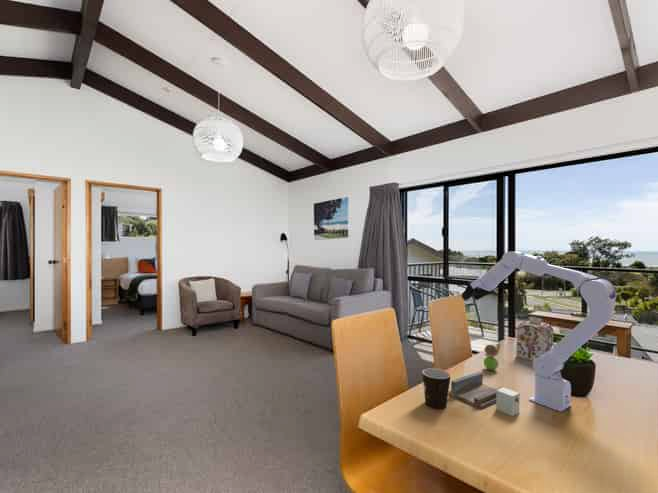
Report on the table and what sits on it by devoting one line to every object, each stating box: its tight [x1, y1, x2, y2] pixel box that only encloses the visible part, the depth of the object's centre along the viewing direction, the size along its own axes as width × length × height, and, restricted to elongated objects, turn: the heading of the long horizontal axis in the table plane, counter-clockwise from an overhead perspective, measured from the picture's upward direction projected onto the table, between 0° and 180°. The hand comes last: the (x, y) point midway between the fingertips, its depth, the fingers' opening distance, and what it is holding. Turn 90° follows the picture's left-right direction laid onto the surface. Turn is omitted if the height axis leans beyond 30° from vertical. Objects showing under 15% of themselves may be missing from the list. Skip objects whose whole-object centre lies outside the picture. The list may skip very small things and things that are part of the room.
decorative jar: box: [515, 317, 554, 362], centre depth 156 cm, size 12×12×18 cm
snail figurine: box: [483, 340, 502, 371], centre depth 140 cm, size 5×6×12 cm
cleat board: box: [448, 371, 503, 410], centre depth 116 cm, size 12×16×5 cm
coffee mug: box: [421, 367, 452, 410], centre depth 107 cm, size 12×9×10 cm
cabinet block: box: [495, 386, 520, 417], centre depth 105 cm, size 6×4×6 cm
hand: (469, 298), depth 133 cm, fingers open, 7 cm apart
